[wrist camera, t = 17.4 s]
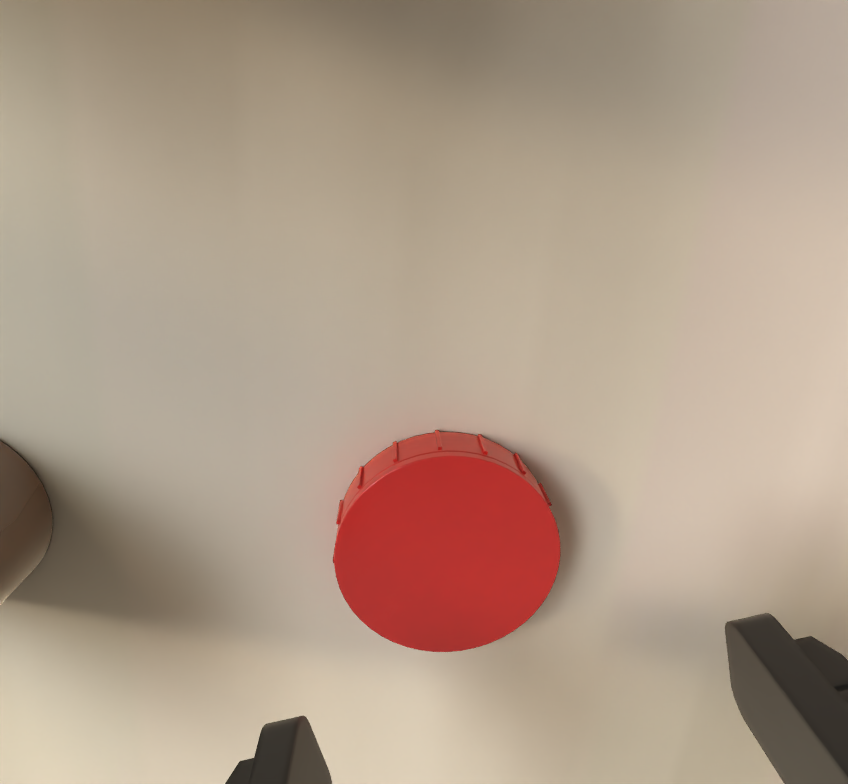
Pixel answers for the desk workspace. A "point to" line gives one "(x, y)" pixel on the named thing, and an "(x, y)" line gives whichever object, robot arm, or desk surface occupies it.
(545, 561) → the lid
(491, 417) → the desk surface
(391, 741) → the desk surface
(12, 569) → the jar
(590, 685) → the desk surface
